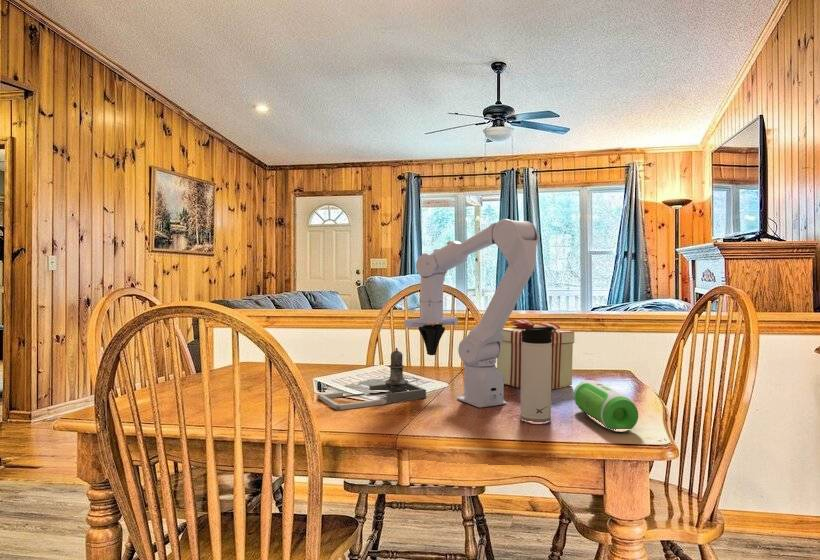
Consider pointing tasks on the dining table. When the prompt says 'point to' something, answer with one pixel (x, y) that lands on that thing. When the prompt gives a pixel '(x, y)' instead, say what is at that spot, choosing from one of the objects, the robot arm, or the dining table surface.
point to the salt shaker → (396, 374)
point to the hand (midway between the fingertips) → (431, 354)
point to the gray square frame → (350, 405)
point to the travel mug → (536, 374)
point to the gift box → (512, 354)
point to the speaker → (606, 405)
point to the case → (402, 393)
